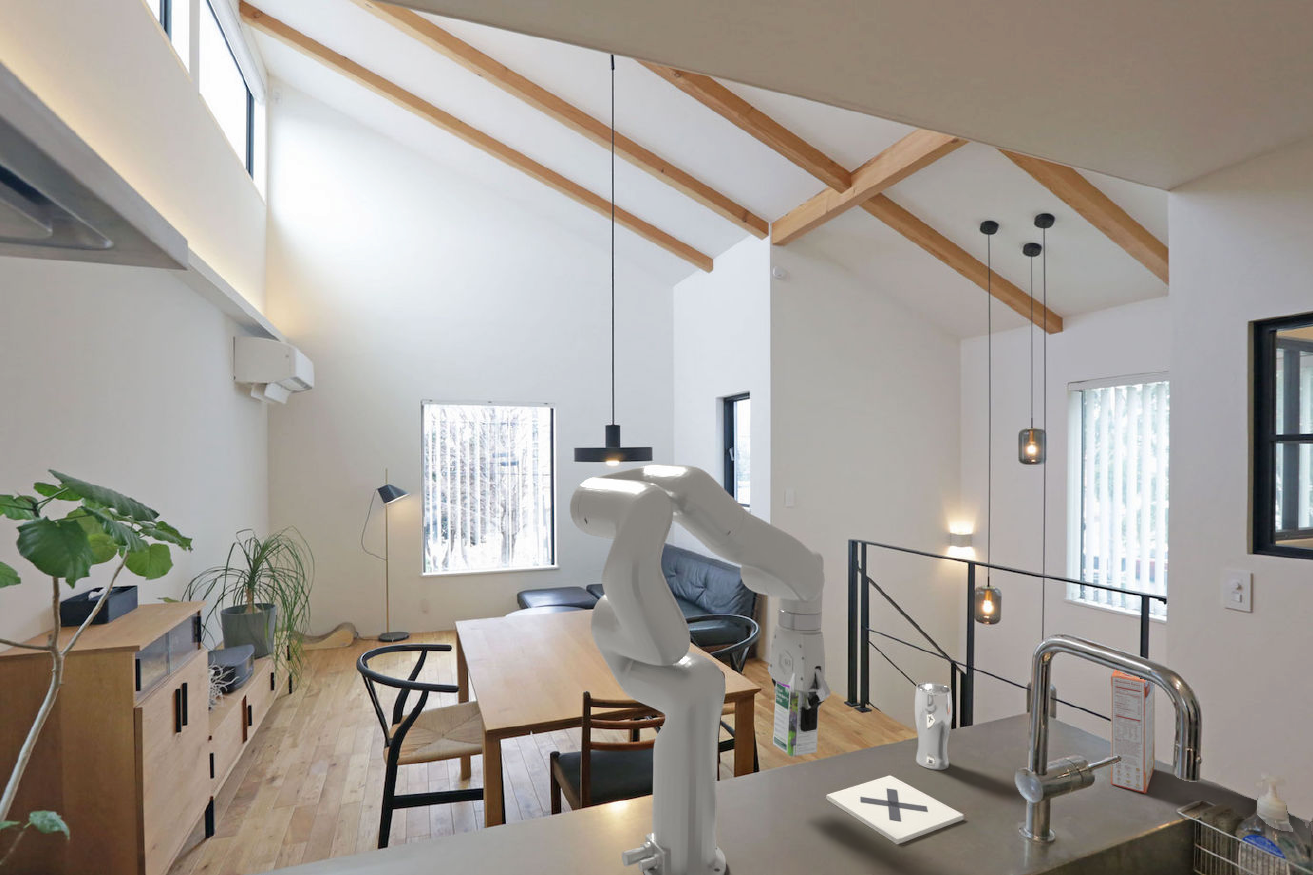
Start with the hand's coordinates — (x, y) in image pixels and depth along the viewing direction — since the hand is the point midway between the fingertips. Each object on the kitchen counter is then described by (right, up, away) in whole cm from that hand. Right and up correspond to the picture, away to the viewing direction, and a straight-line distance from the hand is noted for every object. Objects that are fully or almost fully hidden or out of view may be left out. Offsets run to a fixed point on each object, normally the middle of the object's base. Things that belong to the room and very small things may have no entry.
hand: (795, 722), depth 126 cm
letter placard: (+17, -14, -2) cm, 22 cm away
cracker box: (+67, -16, +12) cm, 70 cm away
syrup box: (0, -5, 0) cm, 5 cm away
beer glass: (+30, -15, +16) cm, 38 cm away
